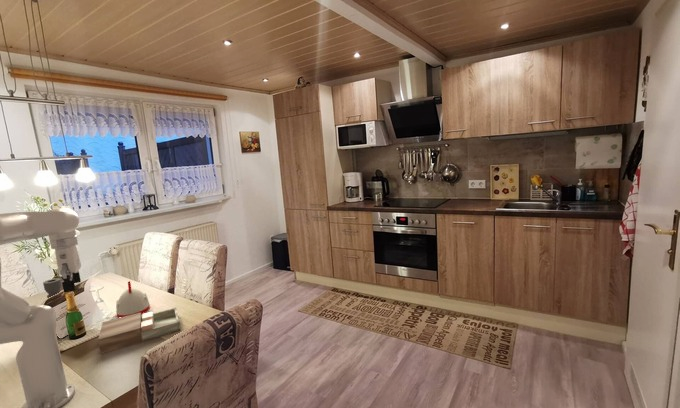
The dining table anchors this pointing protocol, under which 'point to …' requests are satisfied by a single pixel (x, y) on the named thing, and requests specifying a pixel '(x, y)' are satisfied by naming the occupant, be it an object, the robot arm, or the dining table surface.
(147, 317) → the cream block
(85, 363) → the dining table surface
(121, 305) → the white dome with stick
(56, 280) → the candle holder
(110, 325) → the stepped long block
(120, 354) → the dining table surface
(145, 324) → the salmon pink block
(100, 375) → the dining table surface
